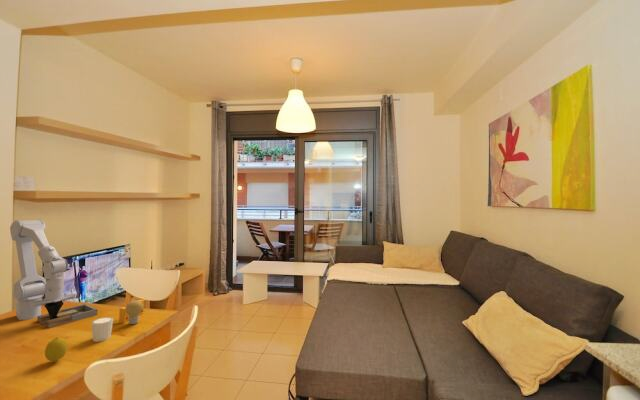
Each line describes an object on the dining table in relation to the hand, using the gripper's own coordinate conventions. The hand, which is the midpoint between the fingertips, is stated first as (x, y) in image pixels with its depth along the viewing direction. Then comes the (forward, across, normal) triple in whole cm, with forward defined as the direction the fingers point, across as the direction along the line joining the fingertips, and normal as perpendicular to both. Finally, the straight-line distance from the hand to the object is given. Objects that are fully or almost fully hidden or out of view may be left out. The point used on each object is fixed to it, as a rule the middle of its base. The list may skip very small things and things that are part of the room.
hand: (52, 319), depth 123 cm
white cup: (+2, +5, -31) cm, 31 cm away
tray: (+1, +9, 0) cm, 9 cm away
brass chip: (+1, +3, 0) cm, 3 cm away
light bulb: (+2, +19, -27) cm, 33 cm away
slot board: (+2, +5, 0) cm, 6 cm away
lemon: (+2, -11, -37) cm, 39 cm away
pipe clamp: (+2, +22, -19) cm, 29 cm away
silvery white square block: (+1, +6, 0) cm, 6 cm away
